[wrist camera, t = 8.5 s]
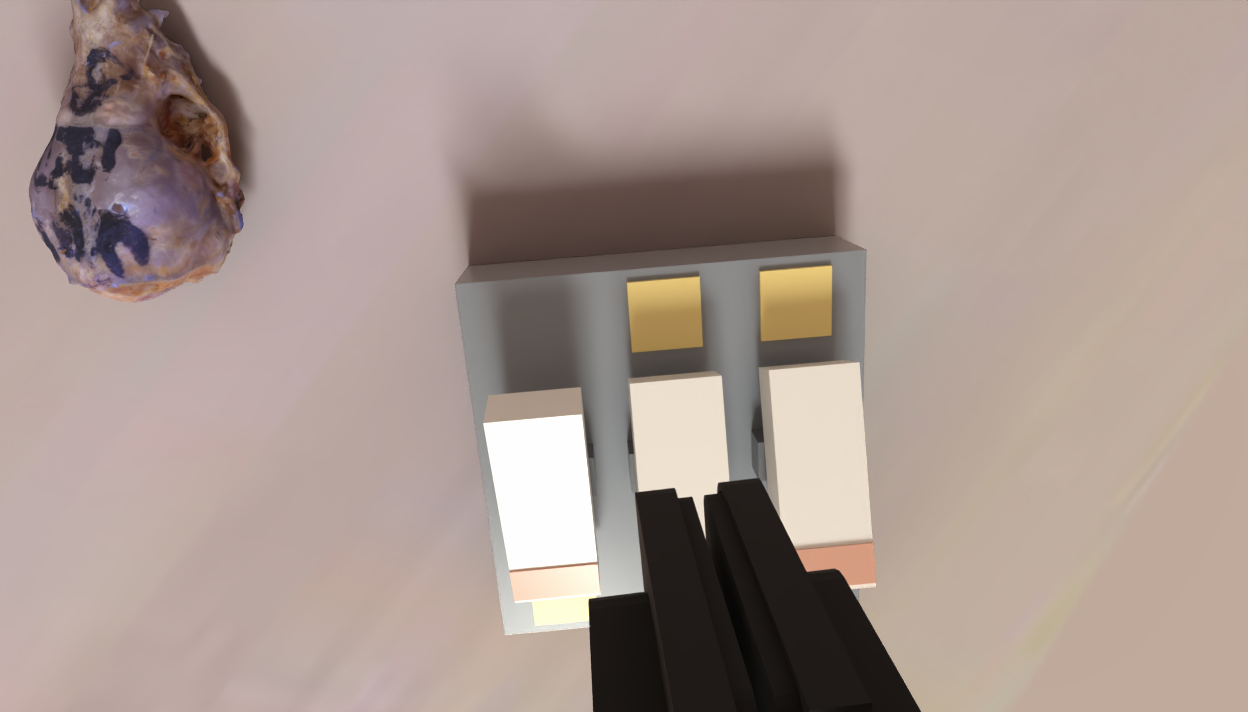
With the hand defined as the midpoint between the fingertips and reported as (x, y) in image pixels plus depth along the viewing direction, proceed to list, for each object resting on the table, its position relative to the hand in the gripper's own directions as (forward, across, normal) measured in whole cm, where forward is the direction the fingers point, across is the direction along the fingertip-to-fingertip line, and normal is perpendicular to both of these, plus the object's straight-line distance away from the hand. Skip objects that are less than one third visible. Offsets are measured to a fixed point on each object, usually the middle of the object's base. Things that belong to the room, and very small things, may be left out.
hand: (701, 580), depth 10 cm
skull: (+27, +18, -6) cm, 33 cm away
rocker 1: (+19, +4, +9) cm, 21 cm away
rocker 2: (+20, -2, +10) cm, 22 cm away
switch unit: (+26, -2, +10) cm, 28 cm away
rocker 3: (+19, -7, +9) cm, 22 cm away
